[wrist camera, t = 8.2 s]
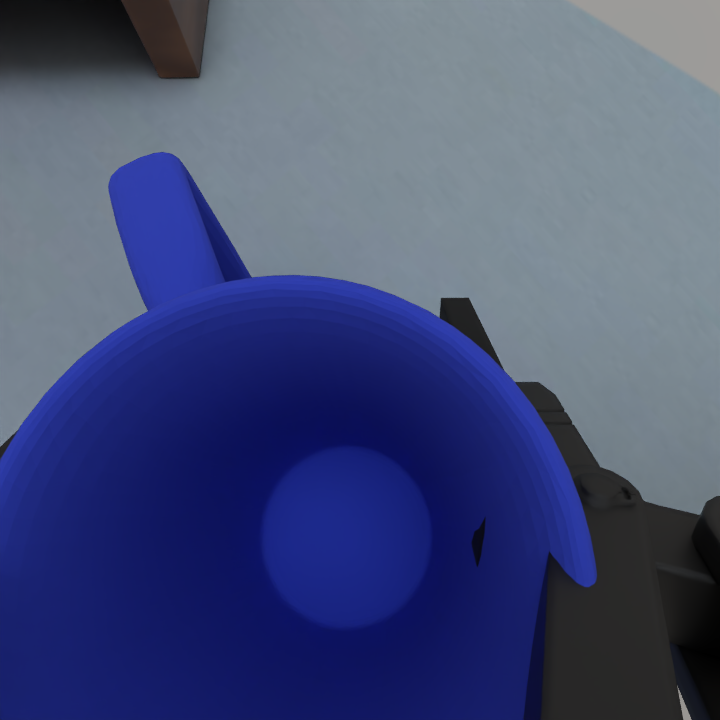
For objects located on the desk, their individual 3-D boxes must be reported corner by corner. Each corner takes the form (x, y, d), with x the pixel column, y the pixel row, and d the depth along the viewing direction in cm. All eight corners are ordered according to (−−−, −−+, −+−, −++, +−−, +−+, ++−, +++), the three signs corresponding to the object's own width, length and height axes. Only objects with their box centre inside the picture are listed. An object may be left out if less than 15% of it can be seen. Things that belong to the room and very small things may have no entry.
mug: (364, 279, 18) (319, 23, 8) (528, 606, 14) (770, 800, 5) (163, 368, 18) (-121, 207, 8) (276, 726, 14) (2, 1193, 4)
